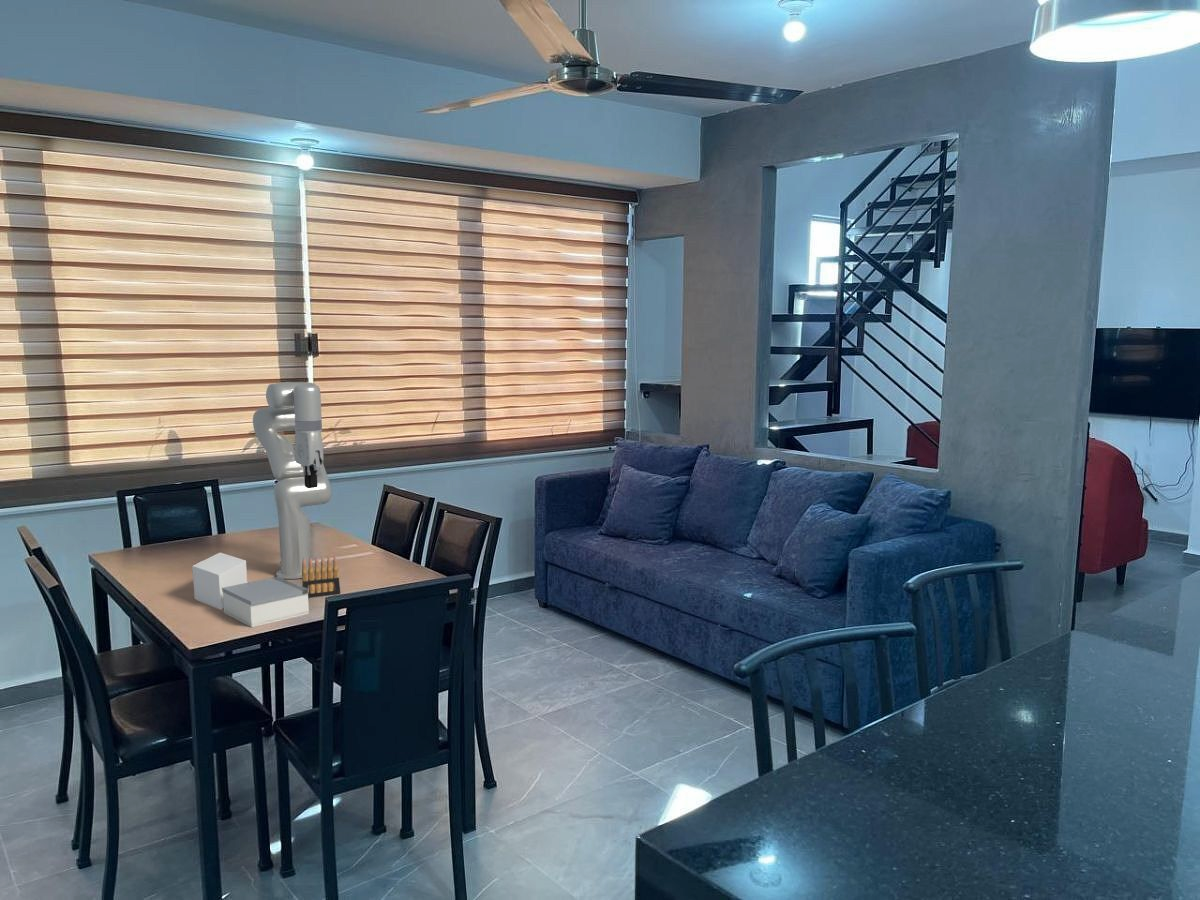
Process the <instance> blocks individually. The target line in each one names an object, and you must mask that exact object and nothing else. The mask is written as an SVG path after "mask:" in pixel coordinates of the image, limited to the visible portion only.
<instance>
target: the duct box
mask: <svg viewBox="0 0 1200 900" xmlns="http://www.w3.org/2000/svg"><path fill="white" fill-rule="evenodd" d="M223 601H224V608H223V614H226V615H227V616H229V617H231V618H233V619H235V620H237V621H239V622H241V623H242V624H245V625H247V626H248V627H251V628H254V627H259V626H262V625H268V624H271V623H276V622H279V621H284V620H288V619H292V618H296V617H301V616H305V615H309V614H310V610H309V608H310V607H309V598H308V593H306V594H301V595H296V596H292V597H287V598H283V599H278V600H273V601H269V602H264V603H260V604H255V605H250V604H248V603H246V602H243V601H241V600H239V599H237V598H235V597H233V596H231V595H229V594H227V593H225V592H223Z"/></svg>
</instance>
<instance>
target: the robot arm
mask: <svg viewBox="0 0 1200 900" xmlns="http://www.w3.org/2000/svg"><path fill="white" fill-rule="evenodd" d="M321 397H322V396H321V388H320V386H319V385H316V384H315V383H313V382H306V381H305V382H303V381H301V382H299V381H296V382H294V381H293V382H291V381H286V382H285V381H284V382H275V383H269V384H268V385H267V387H266V391H265V399H266V402H267V405H268V406H267V407H262V408H259V409H257V410H256V411H255V412H254V413H253V415H252V426H253V431H254V433H255V436H256V438H257V440H258V441H259V443H260V445H261V446H262V447H263V449H264V450H265V453H266V456H267V459H268V462H269V466H270V470H271V472H272V474H273V476H274V479H275V480H276V481H277V482H276V483H275V484H274V487H273V495H274V500H275V501H274V502H275V504H276V511H277V518H278V519H277V520H278V534H279V553H280V561H279V564H280V569H279V570H277V571H276V573H275V574H276V576H275V577H280V578H282V579H285V580H295V579H302V562H303V558H305V560H306V566H307V572H308V570H309V558H310V557H311V559H312V560H313V558H312V557H313V556H312V555H313V554H312V539H311V536H312V535H311V520H310V518H309V516H308V514H307V513H305V511H303V510H302V509H301V508H305V507H311V506H319V505H325V504H328V503H329V502H330V500H331V499H332V493H333V492H332V486H331V483H330V480H329V477H328V473H327V471H326V468H325V465H324V444H323V436H322V432H323V422H322V398H321ZM289 431H295V435H294V445H293V443H292V442H291V441H290V440H289V439H288V438H287V437H285V436H284V435H283V434H281V433H279V432H289ZM313 570H314V576H315V566H313Z"/></svg>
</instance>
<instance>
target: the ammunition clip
mask: <svg viewBox="0 0 1200 900" xmlns="http://www.w3.org/2000/svg"><path fill="white" fill-rule="evenodd" d="M320 560H321V561H320V562H319V557H318V556H315V558H314V564H313V558H312V559H311V557H310V558H309V570H308V572H307V566H306V560H305V558H303V562H302V578H301V581H302V587H304V588H307V589H309V593H308V599H310V598H311V599H313V598H319V597H326V596H336V595H340V594H341V587H340V586H341V585H340V574H339V564H338V557H337V555H336V554H334V555H333V560H332V559H331V556H330V554H329V555H328V556H327V560H325V556H324V555H322V556H321V559H320ZM332 561H333V562H332ZM332 563H333V564H332ZM326 564H327V565H326ZM313 567H315V575H314V570H313Z"/></svg>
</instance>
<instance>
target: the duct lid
mask: <svg viewBox="0 0 1200 900" xmlns="http://www.w3.org/2000/svg"><path fill="white" fill-rule="evenodd" d="M222 591H223V592H225V593H227V594H229V595H231V596H233V597H235V598H237V599H239V600H241V601H243V602H246V603H248V604H250V605H255V604H260V603H264V602H269V601H273V600H278V599H283V598H287V597H292V596H296V595H301V594H306V593H309V589H307V588H304V587H302V586H301V585H299V584H297V583H294V582H292V581H289V580H288V579H283V578H280V577H277V576H274V577H270V578H269V577H268V578H265V579H260V580H255V581H254V580H253V581H249V582H248V581H247V583H243V584H238V585H233V586H228V587H223V588H222Z"/></svg>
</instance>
